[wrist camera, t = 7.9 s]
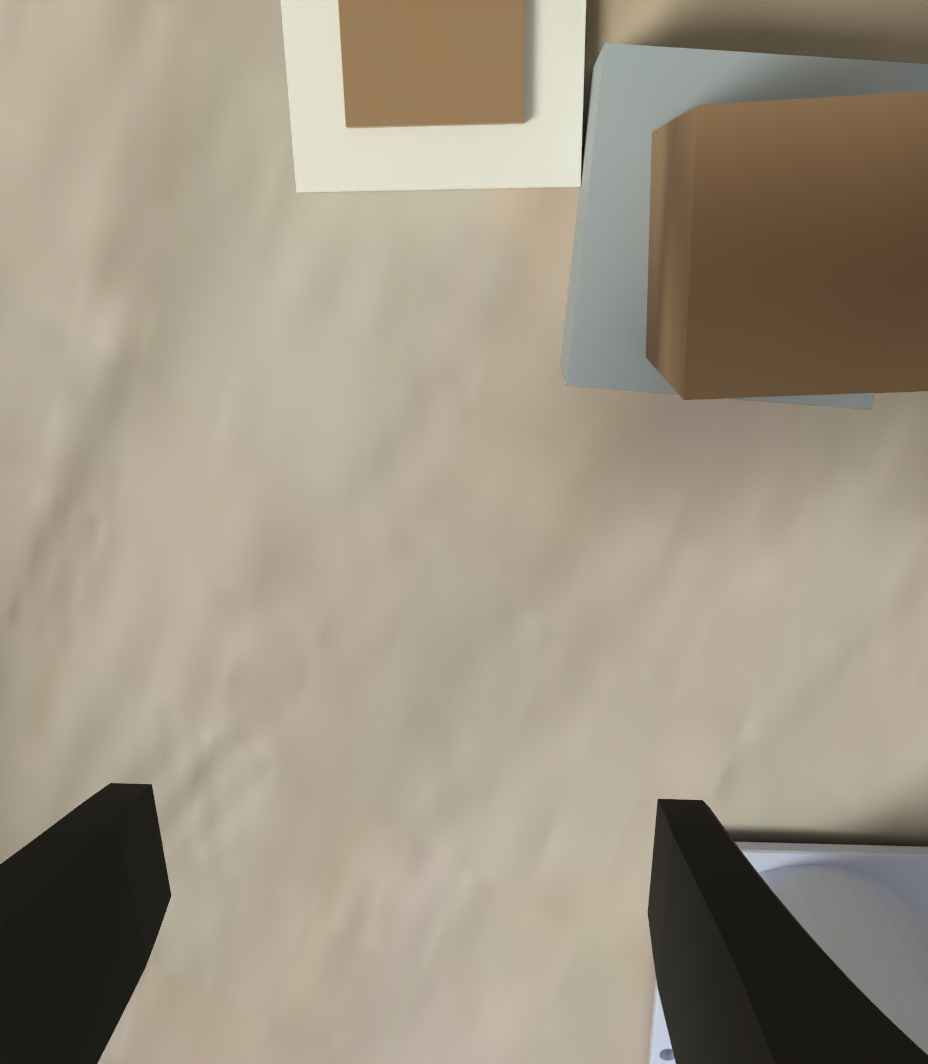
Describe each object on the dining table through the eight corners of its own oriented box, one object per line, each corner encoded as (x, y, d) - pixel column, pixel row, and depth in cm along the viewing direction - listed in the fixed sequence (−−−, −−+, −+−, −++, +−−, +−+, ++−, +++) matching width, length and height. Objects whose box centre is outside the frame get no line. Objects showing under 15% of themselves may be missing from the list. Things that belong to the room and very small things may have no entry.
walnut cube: (855, 348, 16) (958, 390, 12) (645, 357, 16) (683, 399, 13) (882, 118, 15) (1007, 85, 11) (651, 132, 15) (696, 104, 11)
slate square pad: (819, 381, 19) (870, 409, 16) (559, 361, 19) (566, 385, 17) (883, 90, 17) (955, 65, 14) (590, 71, 17) (604, 43, 14)
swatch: (579, 187, 18) (581, 186, 17) (300, 192, 18) (292, 192, 17) (589, -161, 16) (592, -177, 15) (273, -146, 16) (263, -161, 15)
